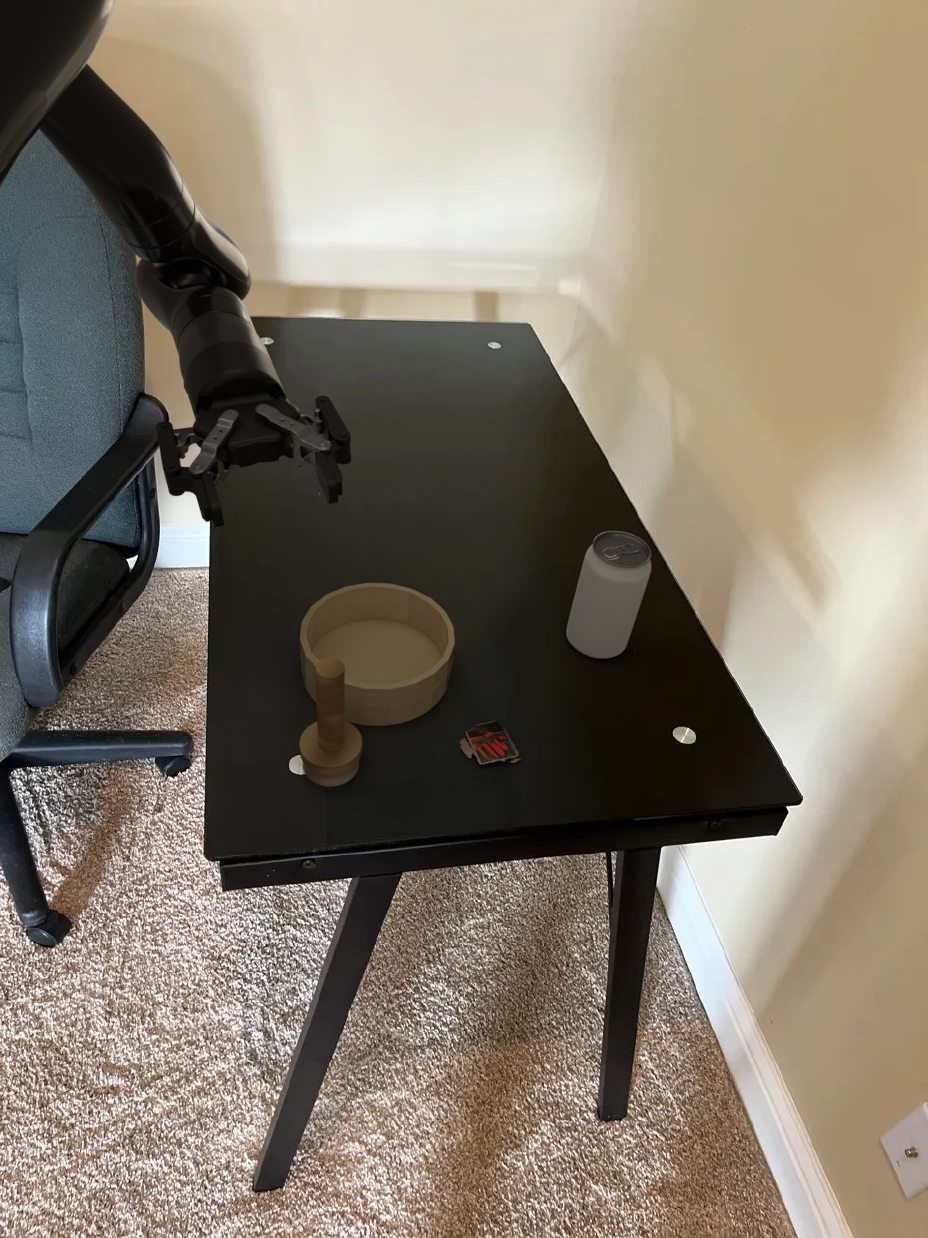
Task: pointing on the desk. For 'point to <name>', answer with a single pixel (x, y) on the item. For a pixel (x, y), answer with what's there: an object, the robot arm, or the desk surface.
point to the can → (609, 594)
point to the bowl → (380, 650)
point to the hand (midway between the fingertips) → (277, 506)
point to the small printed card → (489, 743)
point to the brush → (330, 731)
